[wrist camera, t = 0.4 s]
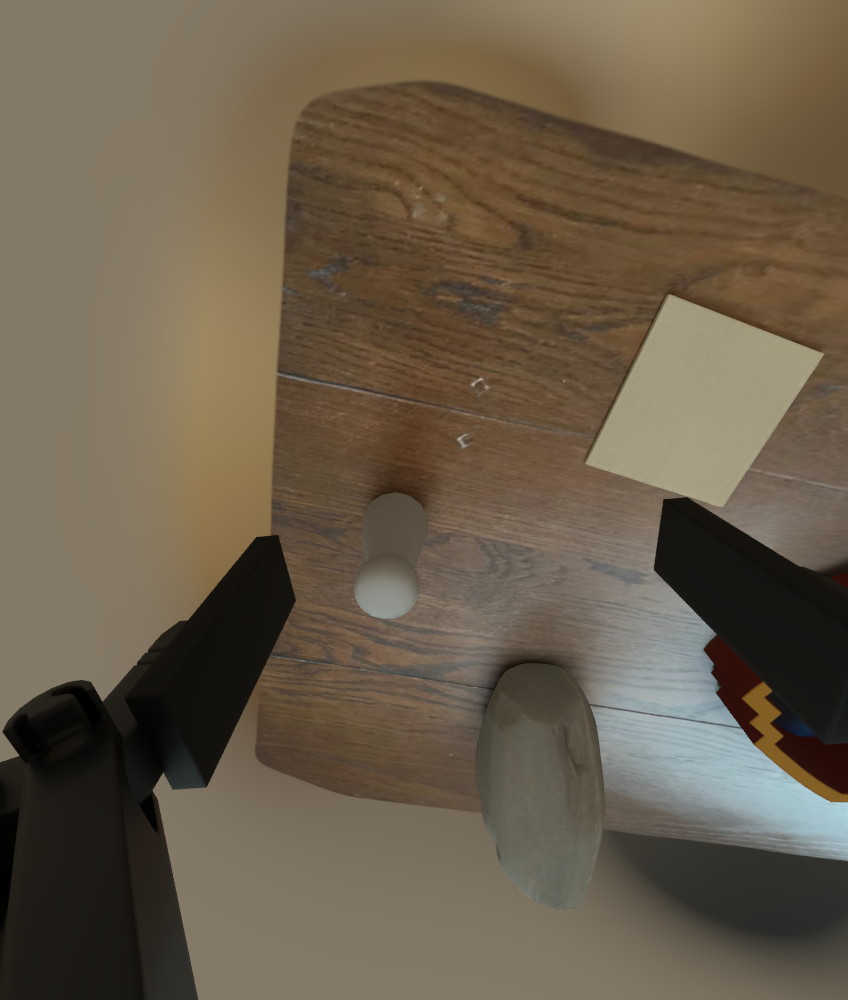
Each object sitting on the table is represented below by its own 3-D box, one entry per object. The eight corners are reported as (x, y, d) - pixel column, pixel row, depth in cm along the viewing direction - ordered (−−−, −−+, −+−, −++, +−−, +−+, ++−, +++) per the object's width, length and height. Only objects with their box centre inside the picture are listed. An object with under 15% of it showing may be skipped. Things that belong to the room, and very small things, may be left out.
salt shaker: (360, 533, 38) (331, 625, 26) (371, 477, 36) (346, 550, 24) (419, 545, 39) (418, 641, 27) (434, 492, 36) (440, 570, 24)
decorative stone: (589, 654, 44) (666, 802, 30) (562, 759, 51) (614, 919, 37) (480, 651, 44) (508, 798, 30) (467, 756, 50) (484, 917, 36)
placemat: (583, 462, 35) (585, 464, 35) (666, 294, 30) (669, 293, 30) (719, 506, 37) (722, 507, 37) (820, 353, 32) (824, 353, 32)
